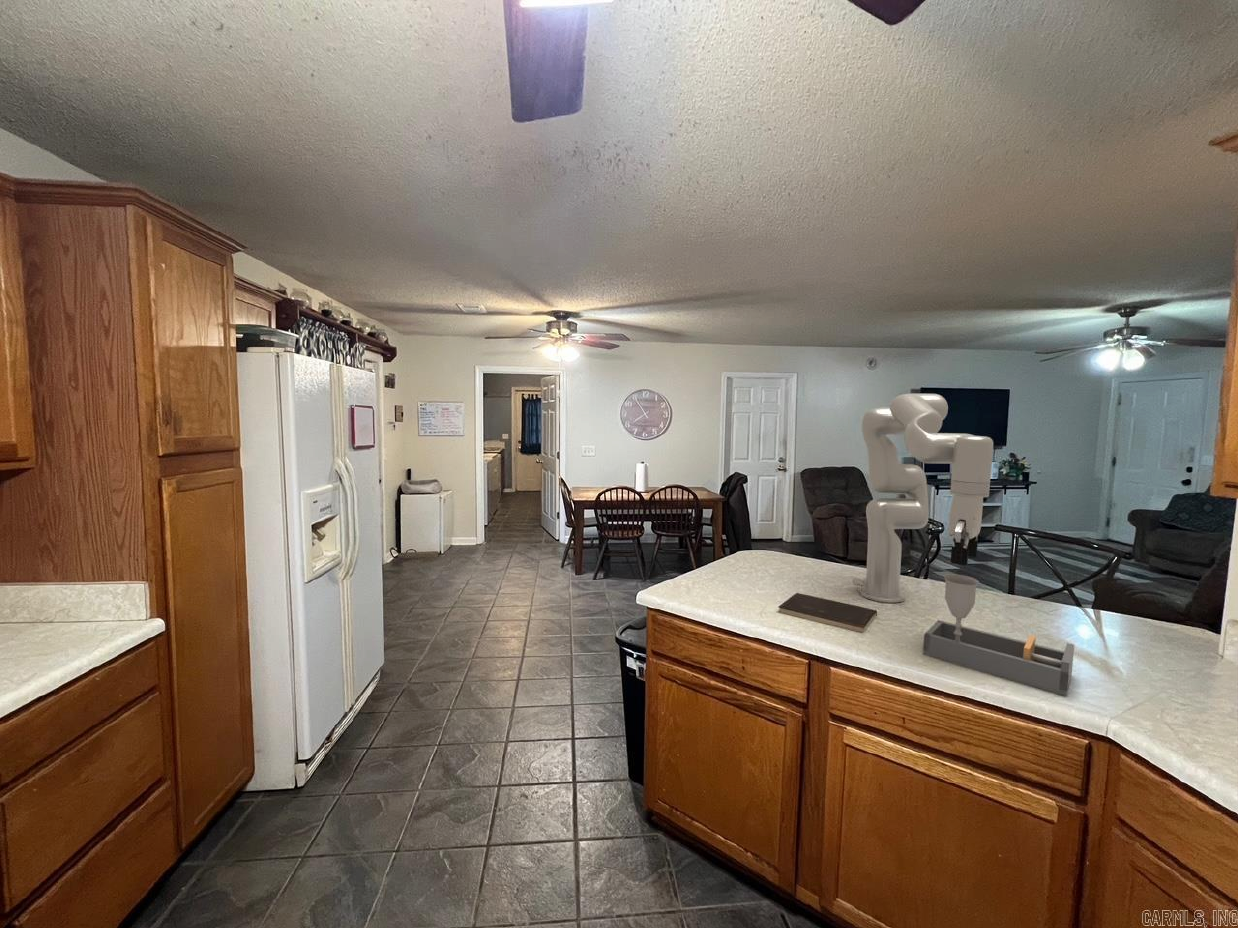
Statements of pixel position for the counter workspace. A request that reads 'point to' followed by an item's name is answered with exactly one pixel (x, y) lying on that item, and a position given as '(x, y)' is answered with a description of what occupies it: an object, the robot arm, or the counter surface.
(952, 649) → the tray
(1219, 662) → the counter surface
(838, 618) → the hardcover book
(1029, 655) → the pusher
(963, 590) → the chalice
